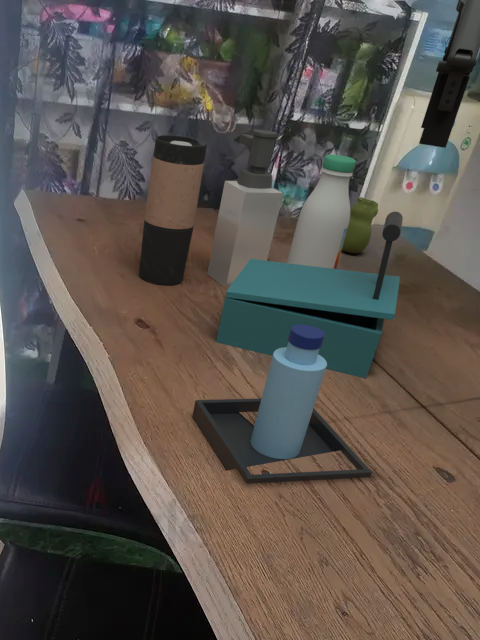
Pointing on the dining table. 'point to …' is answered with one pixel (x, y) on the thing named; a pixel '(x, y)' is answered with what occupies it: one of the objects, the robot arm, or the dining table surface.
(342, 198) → the milk bottle
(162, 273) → the travel mug
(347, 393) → the dining table surface
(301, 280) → the lid
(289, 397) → the water bottle
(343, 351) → the teal box
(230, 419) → the tray
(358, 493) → the dining table surface
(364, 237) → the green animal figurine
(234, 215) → the soap dispenser
